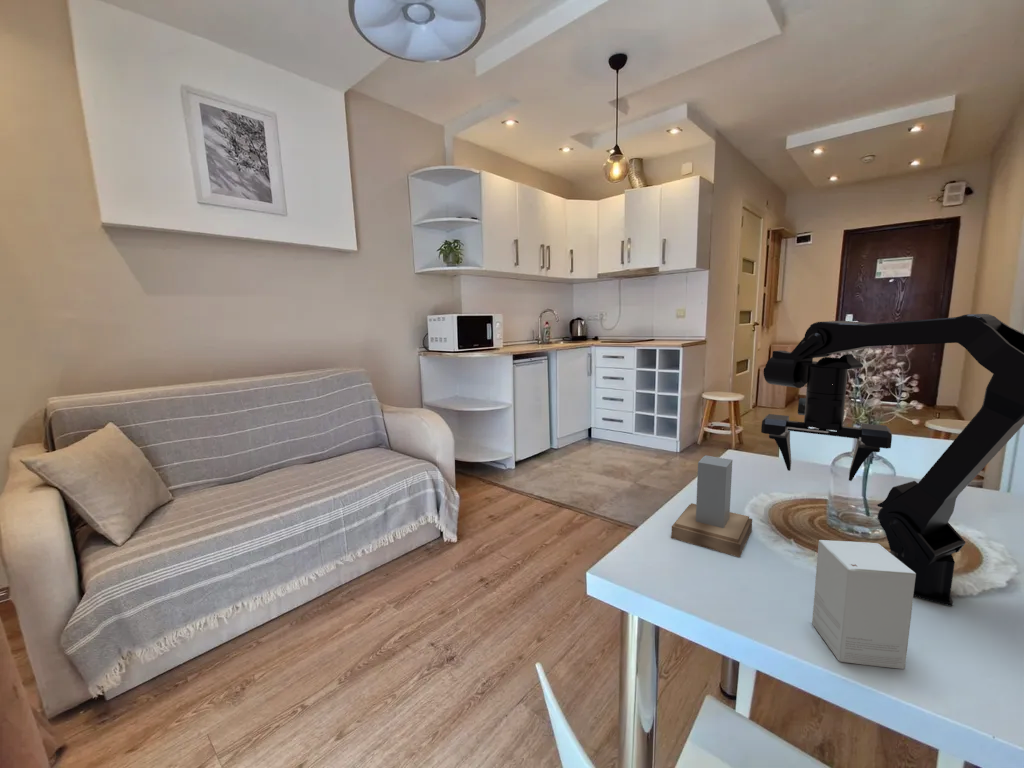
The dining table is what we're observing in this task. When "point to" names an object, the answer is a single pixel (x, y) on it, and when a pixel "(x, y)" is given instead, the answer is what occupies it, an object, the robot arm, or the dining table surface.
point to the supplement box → (863, 603)
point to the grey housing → (713, 491)
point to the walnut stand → (713, 532)
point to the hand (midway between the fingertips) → (818, 474)
